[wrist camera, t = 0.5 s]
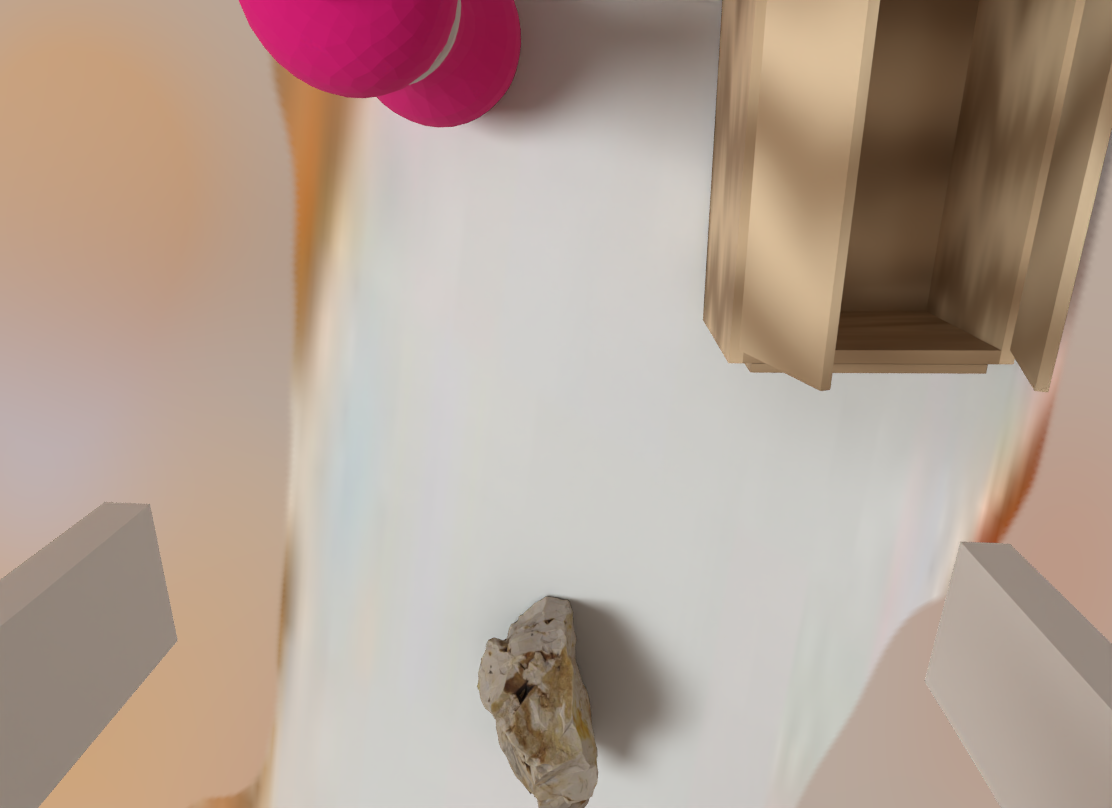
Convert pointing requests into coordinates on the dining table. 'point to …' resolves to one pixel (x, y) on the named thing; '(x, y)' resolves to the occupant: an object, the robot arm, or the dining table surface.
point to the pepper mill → (397, 51)
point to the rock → (542, 705)
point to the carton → (914, 179)
